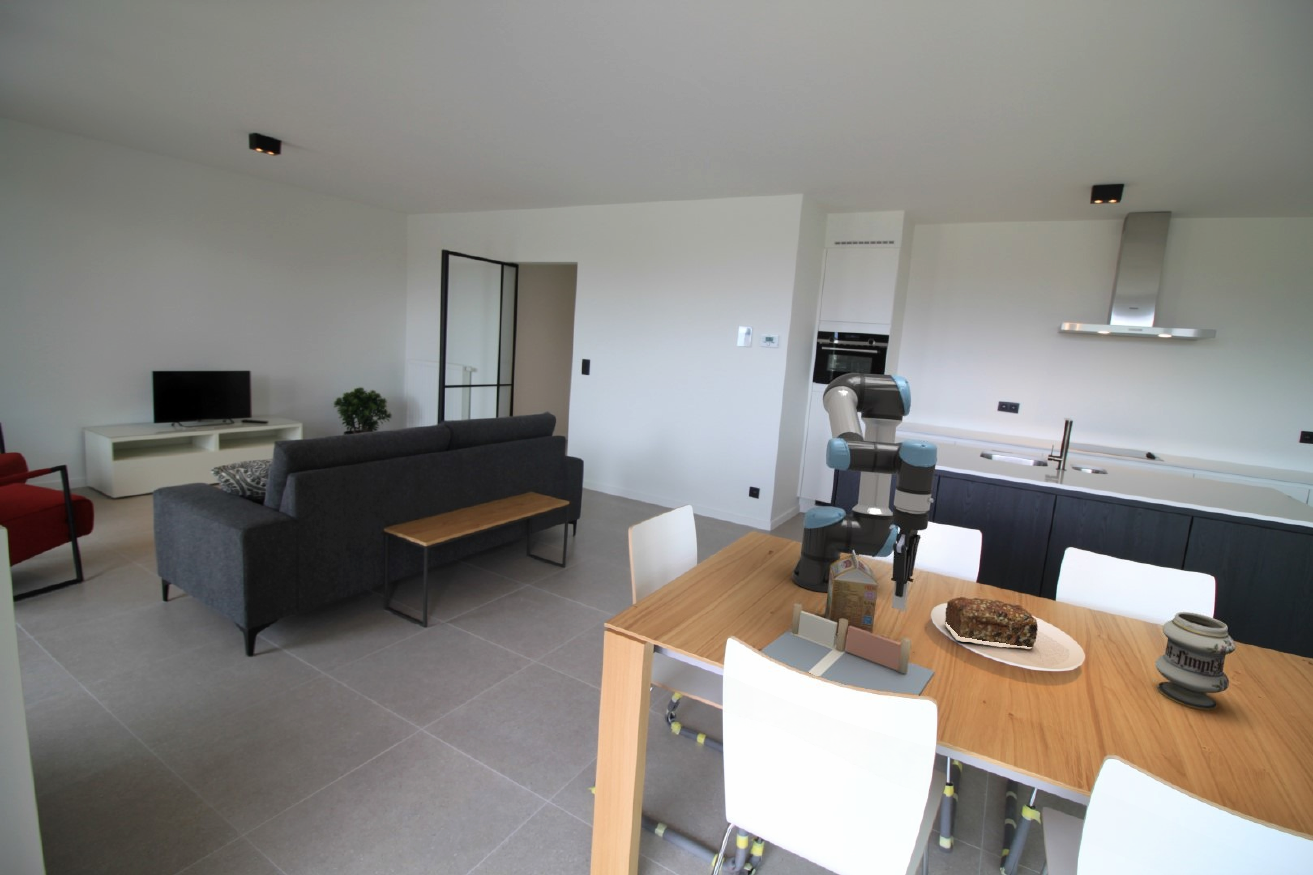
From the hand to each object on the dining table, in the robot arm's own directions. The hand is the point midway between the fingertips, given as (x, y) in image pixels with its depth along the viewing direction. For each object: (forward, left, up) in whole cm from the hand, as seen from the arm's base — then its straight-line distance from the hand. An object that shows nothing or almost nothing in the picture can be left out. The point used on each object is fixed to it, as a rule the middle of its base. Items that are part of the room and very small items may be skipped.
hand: (898, 608), depth 139 cm
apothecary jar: (-31, +54, -13) cm, 63 cm away
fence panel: (+6, -2, -11) cm, 13 cm away
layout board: (+11, -7, -12) cm, 18 cm away
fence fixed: (+6, -16, -12) cm, 21 cm away
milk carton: (-9, -14, -13) cm, 21 cm away
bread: (-29, +15, -13) cm, 35 cm away
